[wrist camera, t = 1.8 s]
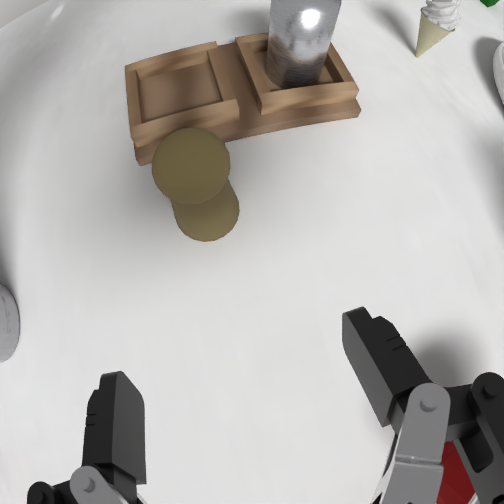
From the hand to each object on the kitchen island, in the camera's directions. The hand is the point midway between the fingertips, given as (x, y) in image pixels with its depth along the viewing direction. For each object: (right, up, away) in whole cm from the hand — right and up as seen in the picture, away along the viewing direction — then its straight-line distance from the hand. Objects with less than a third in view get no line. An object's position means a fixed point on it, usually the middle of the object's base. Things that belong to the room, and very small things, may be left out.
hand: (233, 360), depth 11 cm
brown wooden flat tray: (-1, +22, +22) cm, 31 cm away
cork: (-4, +8, +19) cm, 21 cm away
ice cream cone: (+24, +31, +24) cm, 46 cm away
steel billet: (+5, +24, +21) cm, 32 cm away
